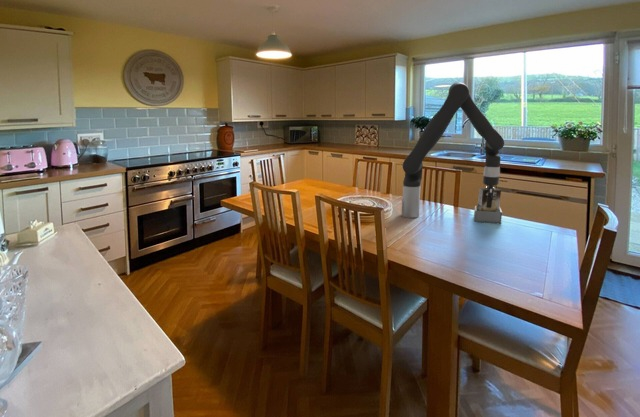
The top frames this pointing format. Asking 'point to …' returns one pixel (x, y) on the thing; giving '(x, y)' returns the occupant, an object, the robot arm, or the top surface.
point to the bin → (487, 216)
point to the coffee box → (483, 200)
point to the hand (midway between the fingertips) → (488, 205)
